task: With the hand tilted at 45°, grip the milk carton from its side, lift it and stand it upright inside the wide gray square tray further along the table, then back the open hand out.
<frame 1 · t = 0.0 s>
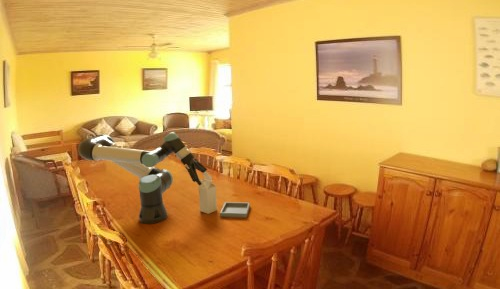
hand: (208, 184, 176), 15 cm above the table, tool tilted 35°, fingers open, 13 cm apart
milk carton: (208, 211, 177), on the table, touching gripper
gray square tray: (235, 211, 175), on the table
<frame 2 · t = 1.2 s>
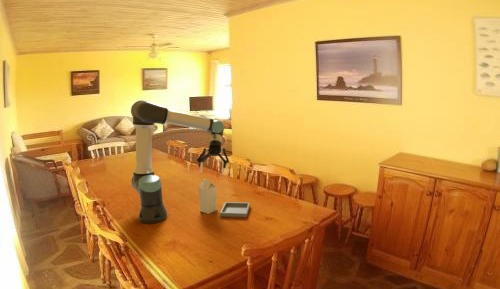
hand: (211, 172, 182), 20 cm above the table, tool tilted 45°, fingers open, 13 cm apart
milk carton: (208, 211, 177), on the table
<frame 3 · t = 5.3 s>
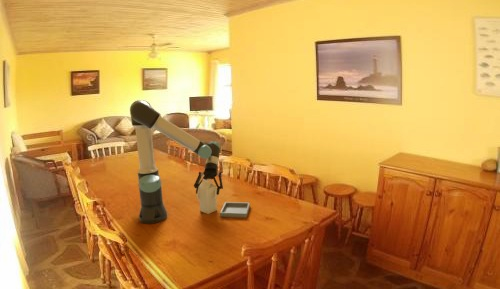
hand: (206, 199, 172), 8 cm above the table, tool tilted 45°, fingers closed on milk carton, 10 cm apart
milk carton: (208, 211, 177), on the table, touching gripper
when the fingers open (10 cm above the table, at t = 11.5 s): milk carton drops 1 cm, resting on gray square tray.
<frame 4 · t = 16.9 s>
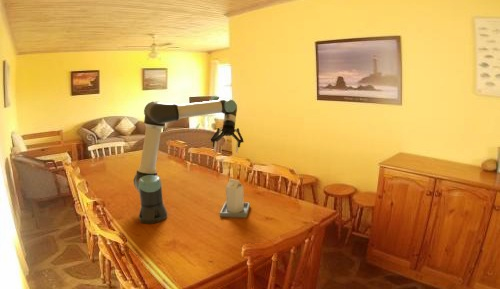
hand: (225, 151, 181), 33 cm above the table, tool tilted 45°, fingers open, 13 cm apart
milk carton: (235, 211, 175), resting on gray square tray
at the end: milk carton 0.1 cm off-centre on the gray square tray, point 0.3 cm above the gray square tray's base; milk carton tilted 0°; the gripper is holding nothing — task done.
